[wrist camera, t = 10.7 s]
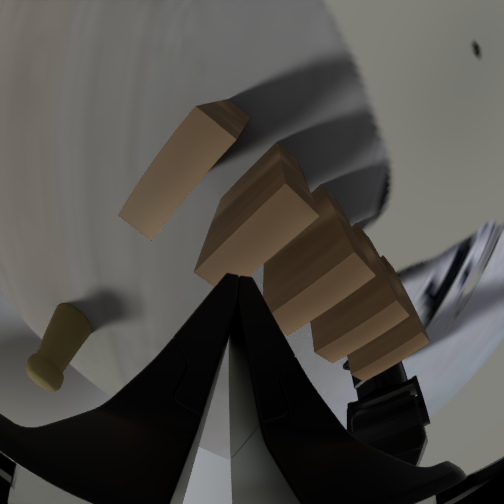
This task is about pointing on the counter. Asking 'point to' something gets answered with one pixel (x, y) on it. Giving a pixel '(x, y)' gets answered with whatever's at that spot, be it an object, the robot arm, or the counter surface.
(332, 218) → the walnut domino
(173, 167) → the walnut domino
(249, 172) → the walnut domino
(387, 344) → the walnut domino
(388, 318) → the walnut domino
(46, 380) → the olive yellow rounded piece
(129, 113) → the counter surface
